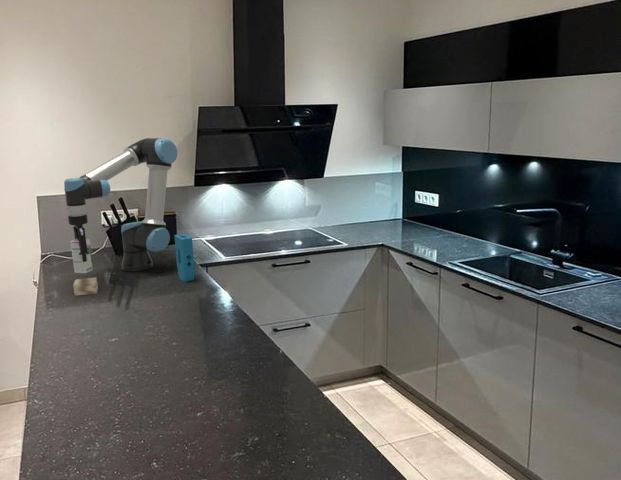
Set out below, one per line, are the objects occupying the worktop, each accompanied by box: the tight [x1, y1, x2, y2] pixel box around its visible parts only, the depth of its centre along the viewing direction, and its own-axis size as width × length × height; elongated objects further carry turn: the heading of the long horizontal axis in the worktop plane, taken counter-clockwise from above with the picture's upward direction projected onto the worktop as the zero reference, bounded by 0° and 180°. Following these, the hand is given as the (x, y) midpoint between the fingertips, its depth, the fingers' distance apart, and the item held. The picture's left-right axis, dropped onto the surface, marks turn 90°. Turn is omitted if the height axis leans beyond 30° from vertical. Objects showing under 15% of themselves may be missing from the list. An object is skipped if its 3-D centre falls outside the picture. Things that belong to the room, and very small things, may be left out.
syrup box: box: [70, 237, 94, 274], centre depth 250 cm, size 6×6×14 cm
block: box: [174, 233, 195, 283], centre depth 266 cm, size 12×5×20 cm, turn 30°
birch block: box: [72, 277, 99, 297], centre depth 253 cm, size 9×9×5 cm
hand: (83, 266), depth 251 cm, fingers closed on syrup box, 8 cm apart
